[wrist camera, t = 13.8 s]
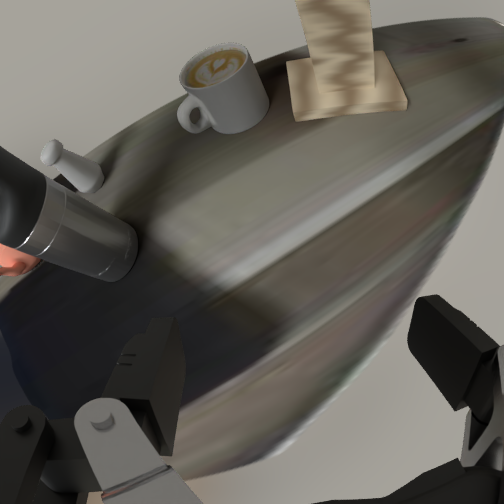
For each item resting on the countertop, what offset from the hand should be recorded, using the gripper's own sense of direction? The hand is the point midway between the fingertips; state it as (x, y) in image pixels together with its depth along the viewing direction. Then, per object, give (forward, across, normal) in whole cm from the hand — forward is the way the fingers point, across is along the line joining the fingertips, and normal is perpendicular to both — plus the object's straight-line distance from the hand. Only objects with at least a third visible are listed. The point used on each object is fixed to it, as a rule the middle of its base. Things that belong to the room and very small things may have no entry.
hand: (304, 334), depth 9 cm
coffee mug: (+40, +2, -11) cm, 42 cm away
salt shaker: (+44, +27, -3) cm, 52 cm away
